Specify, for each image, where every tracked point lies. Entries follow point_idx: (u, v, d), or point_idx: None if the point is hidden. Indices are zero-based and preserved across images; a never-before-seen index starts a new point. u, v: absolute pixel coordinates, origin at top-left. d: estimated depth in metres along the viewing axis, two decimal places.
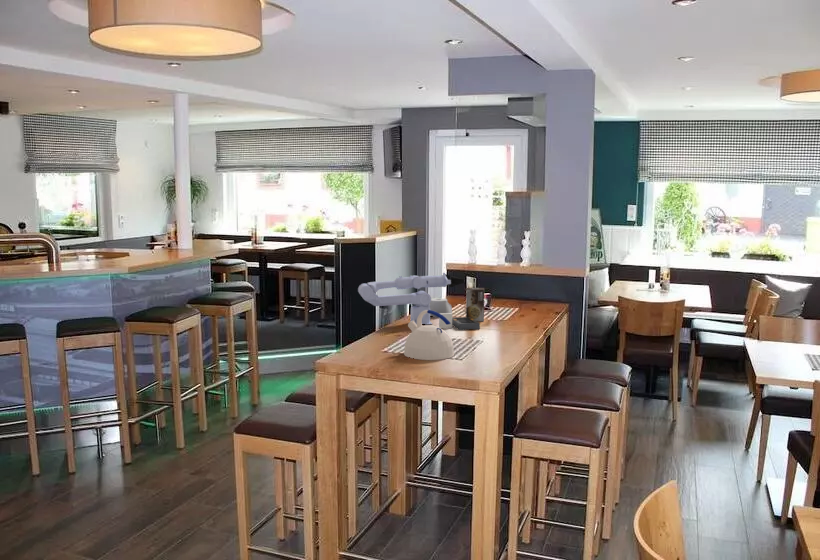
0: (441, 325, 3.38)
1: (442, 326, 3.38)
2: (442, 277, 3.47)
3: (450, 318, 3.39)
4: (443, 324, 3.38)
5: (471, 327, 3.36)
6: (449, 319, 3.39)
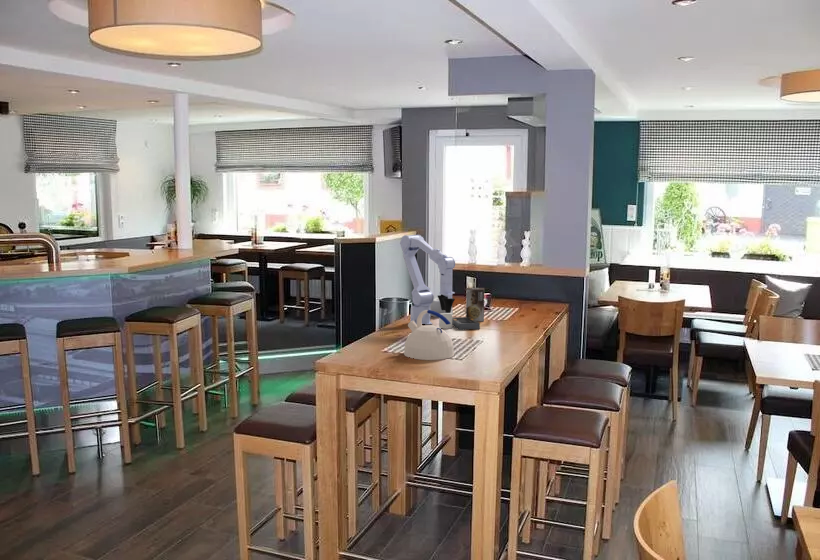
0: (441, 325, 3.38)
1: (442, 326, 3.38)
2: (451, 291, 3.36)
3: (450, 318, 3.39)
4: (443, 324, 3.38)
5: (471, 327, 3.36)
6: (449, 319, 3.39)
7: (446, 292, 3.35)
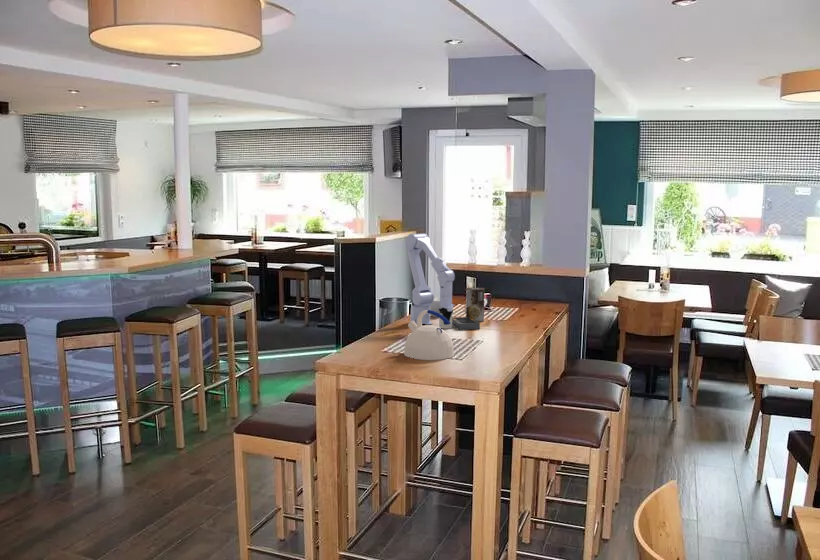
0: (441, 325, 3.38)
1: (442, 326, 3.38)
2: (450, 303, 3.36)
3: (450, 318, 3.39)
4: (443, 324, 3.38)
5: (471, 327, 3.36)
6: None
7: (446, 305, 3.35)
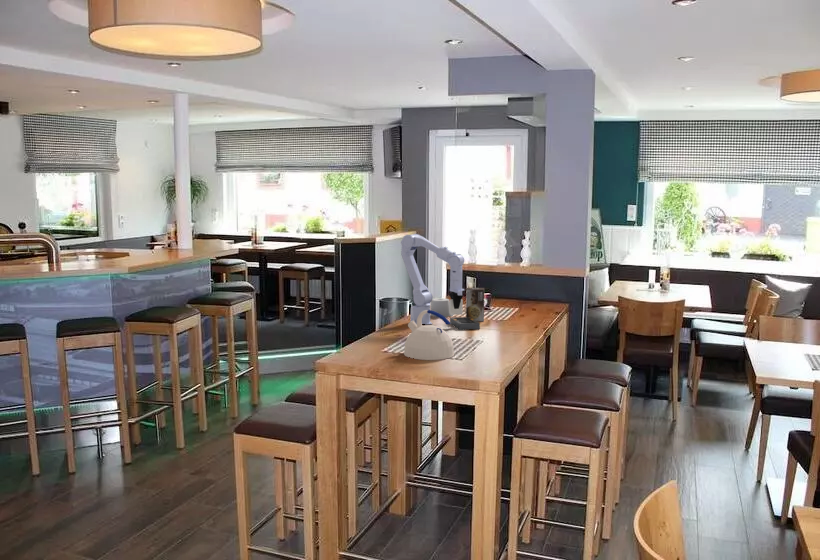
0: (451, 311, 3.40)
1: (452, 312, 3.40)
2: (461, 288, 3.39)
3: (460, 304, 3.41)
4: (453, 310, 3.40)
5: (471, 327, 3.36)
6: None
7: (456, 289, 3.37)
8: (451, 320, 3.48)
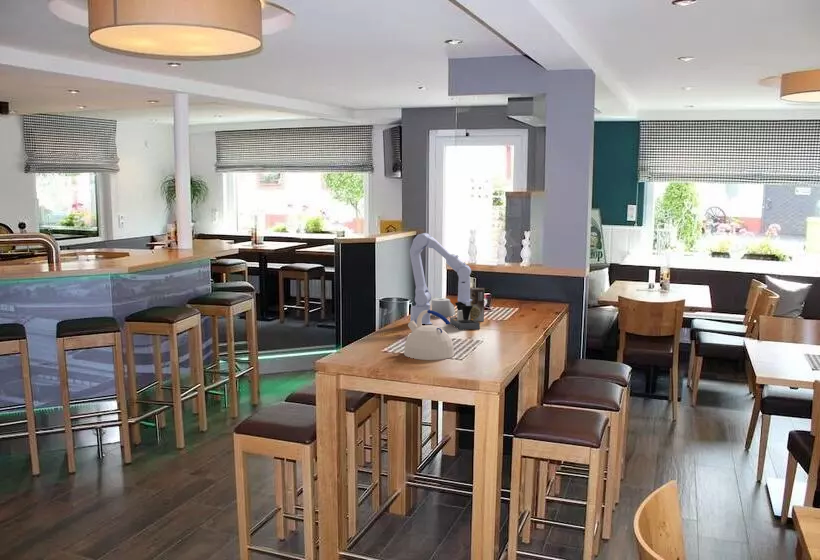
0: None
1: None
2: (468, 298, 3.42)
3: None
4: None
5: (471, 327, 3.36)
6: None
7: (464, 299, 3.41)
8: (451, 320, 3.48)
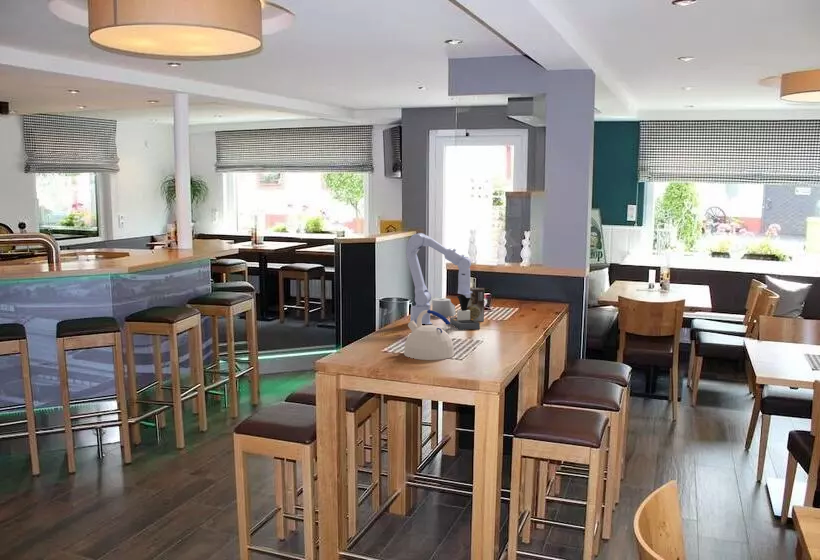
0: None
1: None
2: (469, 290, 3.41)
3: (468, 315, 3.44)
4: None
5: (471, 327, 3.36)
6: (467, 316, 3.44)
7: (464, 291, 3.40)
8: (451, 320, 3.48)
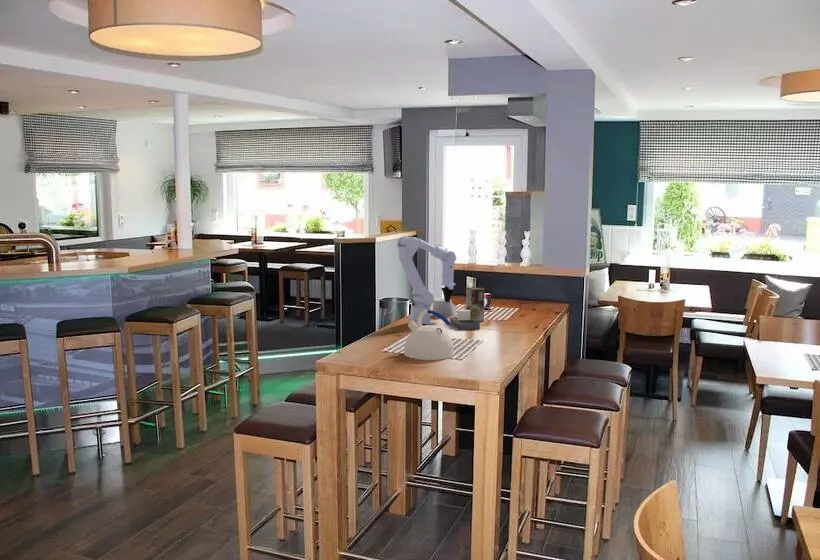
0: None
1: None
2: (452, 282, 3.55)
3: (468, 315, 3.44)
4: None
5: (471, 327, 3.36)
6: (467, 316, 3.44)
7: (447, 283, 3.54)
8: (451, 320, 3.48)
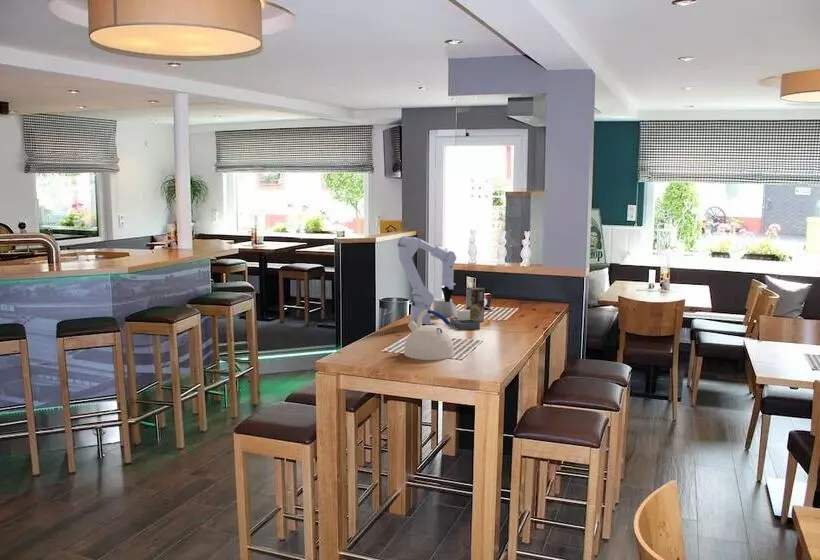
0: None
1: None
2: (452, 282, 3.55)
3: (468, 315, 3.44)
4: None
5: (471, 327, 3.36)
6: (467, 316, 3.44)
7: (447, 283, 3.54)
8: (451, 320, 3.48)
